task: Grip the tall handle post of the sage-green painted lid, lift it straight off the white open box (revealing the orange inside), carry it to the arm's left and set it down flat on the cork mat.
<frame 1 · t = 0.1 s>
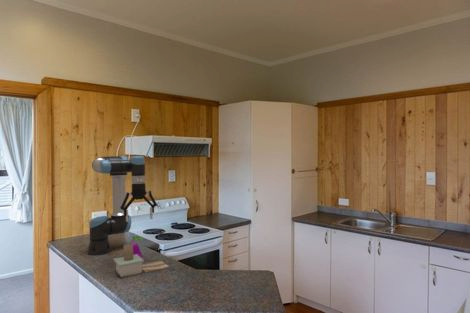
hand: (139, 220, 182), 28 cm above the worktop, fingers open, 13 cm apart
orange: (128, 267, 177), point 3 cm above the worktop, touching white open box
lid: (128, 261, 177), point 6 cm above the worktop, touching white open box
magenta low-poly plum: (133, 260, 198), on the worktop
white open box: (128, 272, 177), on the worktop
mat: (153, 266, 185), on the worktop
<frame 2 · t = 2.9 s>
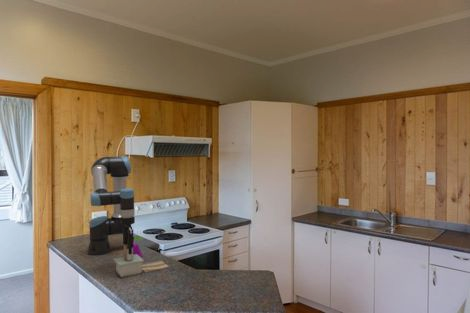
hand: (128, 258, 177), 8 cm above the worktop, fingers closed on lid, 5 cm apart
lid: (128, 261, 177), point 6 cm above the worktop, touching white open box, gripper
everything else where it was.
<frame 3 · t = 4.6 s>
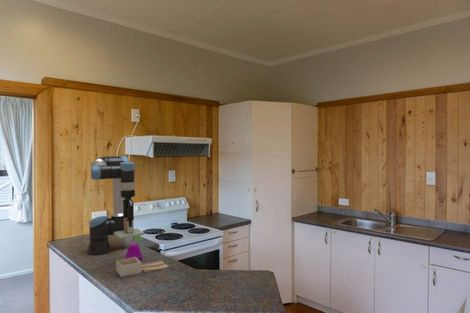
hand: (128, 231, 177), 23 cm above the worktop, fingers closed on lid, 5 cm apart
lid: (128, 234, 177), point 21 cm above the worktop, touching gripper
everything else where it was.
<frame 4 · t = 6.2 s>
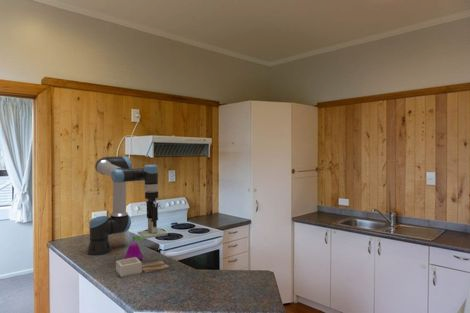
hand: (152, 231, 185), 21 cm above the worktop, fingers closed on lid, 5 cm apart
lid: (152, 234, 185), point 19 cm above the worktop, touching gripper
everything else where it was.
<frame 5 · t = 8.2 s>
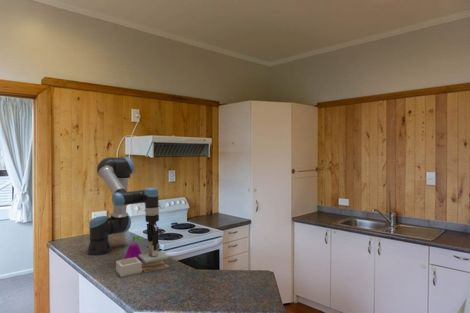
hand: (153, 254, 185), 7 cm above the worktop, fingers closed on lid, 5 cm apart
lid: (153, 257, 185), point 5 cm above the worktop, touching gripper
everything else where it was.
when the fingers open (4 cm above the worktop, at t = 9.7 s): lid drops 2 cm, resting on mat.
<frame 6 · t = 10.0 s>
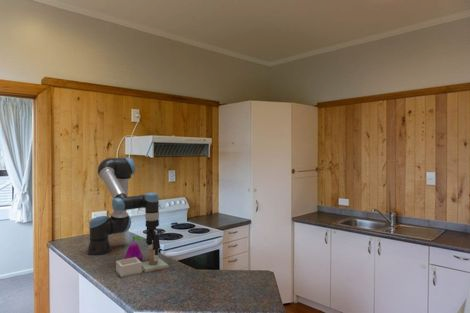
hand: (153, 258, 185), 5 cm above the worktop, fingers open, 9 cm apart
lid: (153, 265, 185), point 1 cm above the worktop, touching mat
everything else where it was.
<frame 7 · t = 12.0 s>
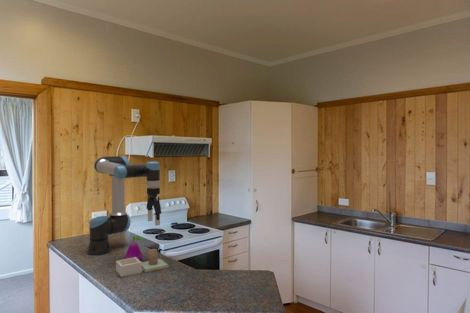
hand: (153, 223, 190), 24 cm above the worktop, fingers open, 13 cm apart
nothing on the worktop moved.
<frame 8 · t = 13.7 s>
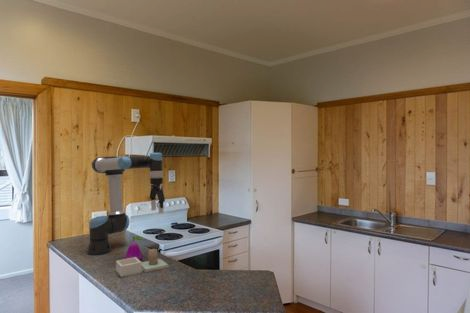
hand: (157, 211, 198), 30 cm above the worktop, fingers open, 13 cm apart
nothing on the worktop moved.
at the end: lid inside the target area on the mat (0.1 cm from its centre), point 0.6 cm above the mat's base; lid touching mat; lid tilted 0° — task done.
